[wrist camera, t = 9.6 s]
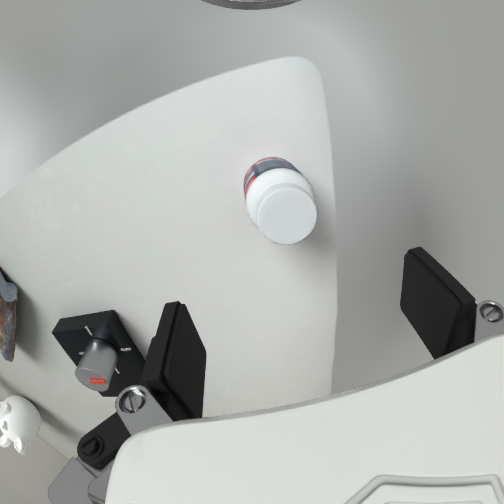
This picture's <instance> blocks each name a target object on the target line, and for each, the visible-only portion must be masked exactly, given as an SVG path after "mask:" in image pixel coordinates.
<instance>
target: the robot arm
mask: <svg viewBox="0 0 504 504" xmlns="http://www.w3.org/2000/svg"><path fill="white" fill-rule="evenodd" d="M400 306H401V310H402V312H403V313H404V314H405V316H406V317H407V319H408V320H409V322H410V323H411V325H412V326H413V328H414V329H415V330H416V332H417V333H418V335H419V336H420V338H421V339H422V341H423V343H424V344H425V346H426V347H427V349H428V350H429V352H430V353H431V355H432V357H433V358H434V360H433V361H430V362H428V363H426V364H423V365H421V366H418V367H416V368H413V369H411V370H408V371H406V372H403V373H400V374H397V375H395V376H392V377H389V378H386V379H383V380H380V381H377V382H374V383H371V384H368V385H364V386H362V387H358V388H354V389H351V390H348V391H344V392H340V393H337V394H333V395H329V396H325V397H321V398H317V399H313V400H309V401H304V402H300V403H295V404H290V405H285V406H280V407H275V408H269V409H263V410H257V411H251V412H244V413H237V414H230V415H222V416H214V417H204V418H202V412H203V396H204V382H205V369H206V350H205V347H204V345H203V343H202V341H201V339H200V337H199V334H198V332H197V330H196V328H195V326H194V323H193V321H192V319H191V317H190V314H189V312H188V310H187V307H186V305H185V304H181V303H180V302H179V301H176V302H171V303H166V304H165V306H164V309H163V312H162V316H161V319H160V322H159V326H158V329H157V333H156V336H154V337H153V338H152V340H151V344H150V347H149V351H148V354H147V358H146V361H145V365H144V368H143V372H142V376H141V380H140V383H139V385H133V386H130V387H128V388H126V389H124V390H123V391H122V392H120V394H119V395H118V397H117V399H116V401H115V408H116V411H117V412H116V413H114V414H113V415H112V416H110V417H109V418H107V419H106V420H105V421H103V422H102V423H101V424H99V425H98V426H97V427H95V428H94V429H93V430H91V431H90V432H88V433H87V434H86V435H84V436H83V437H82V438H81V440H80V441H79V443H78V447H77V453H78V456H77V458H74V457H72V459H71V460H70V461H69V462H68V464H67V465H66V466H65V467H64V469H63V470H62V471H61V472H60V473H59V475H58V476H57V477H56V479H55V480H54V481H53V482H52V483H51V485H50V487H49V489H48V497H49V499H50V501H51V503H52V504H504V308H503V307H502V306H501V305H500V304H499V303H497V302H495V301H490V300H488V301H487V300H486V301H482V302H481V303H479V304H478V305H477V304H476V303H475V298H474V297H473V296H472V295H471V294H470V293H469V292H468V291H467V290H466V289H465V288H464V287H463V286H462V285H461V284H460V283H459V282H458V281H457V280H456V279H455V278H454V277H453V276H452V275H451V274H450V273H449V272H448V271H447V270H446V269H445V268H444V267H443V266H442V265H440V264H439V263H438V262H437V261H436V260H435V259H434V258H433V257H432V256H431V255H429V254H428V253H427V252H426V251H425V250H424V249H423V248H422V247H416V248H413V249H409V250H408V252H407V254H405V257H404V270H403V281H402V292H401V301H400Z"/></svg>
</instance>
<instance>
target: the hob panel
mask: <svg viewBox="0 0 504 504" xmlns="http://www.w3.org/2000/svg"><path fill="white" fill-rule="evenodd" d="M52 334H53V335H54V336H55V338H56V339H57V341H58V342H59V344H60V345H61V346H62V348H63V349H64V350H65V352H66V353H67V354H68V356H69V357H70V358H71V360H72V361H73V362H74V363H75V365H76V366H78V364H79V362H80V360H81V358H82V355H83V353H84V351H85V349H86V347H87V345H88V343H89V341H91V340H93V339H100V340H104V341H106V342H108V343H110V344H111V345H112V346H113V347H114V348H115V349H116V350H117V352H118V354H119V359H118V361H117V364H116V367H115V370H114V373H113V376H112V378H111V381H110V384H109V387H108V389H107V390H106V391H102V392H100V391H98V392H99V393H100V394H101V395H102V396H103V397H118V395H119V394H120V392H122V391H123V390H124V389H126V388H128V387H130V386H133V385H139V383H140V380H141V376H142V372H143V368H144V365H145V359H144V358H143V356H142V355H141V353H140V352H139V350H138V349H137V347H136V346H135V344H134V342H133V341H132V339H131V338H130V336H129V334H128V333H127V331H126V329H125V328H124V326H123V324H122V323H121V321H120V319H119V318H118V316H117V314H116V312H115V311H114V310H110V311H104V312H98V313H93V314H87V315H81V316H75V317H69V318H62V319H60V320H59V322H58V323H57V325H56V326H55V328H54V329H53V331H52Z"/></svg>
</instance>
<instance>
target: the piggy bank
mask: <svg viewBox="0 0 504 504" xmlns="http://www.w3.org/2000/svg"><path fill="white" fill-rule="evenodd" d="M40 426H41V417H40V414H39V412H38V410H37V409H36V407H35V406H34V405H33V404H32V403H31V402H30V401H28V400H27V399H25V398H23V397H21V396H16V395H12V396H9V397H7V398H6V399H5V400H4V402H3V401H2V402H0V429H1V431H2V432H3V434H4V435H2V437H1V438H0V446H2V447H7V446H9V445H10V443H11V441H13V442H14V447H15V449H16V450H17V451H18V452H19V453H20V454H22V455H24V454H25V453H26V446H27V445H29V444H31V443H32V442H33V441H34V439H35V438H36V436H37V435H38V432H39V430H40Z"/></svg>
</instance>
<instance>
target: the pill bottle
mask: <svg viewBox="0 0 504 504" xmlns="http://www.w3.org/2000/svg"><path fill="white" fill-rule="evenodd" d="M244 194H245V204H246V210H247V213H248V216H249V218H250V220H251V222H252V223H253V224H254V225H255V226H256V227H257V228H258V229H259V230H260V231H261V232H262V233H263V235H264V236H265V237H266V238H267V239H269V240H270V241H272V242H274V243H277V244H283V245H289V244H294V243H297V242H299V241H301V240H303V239H304V238H306V237H307V236H308V235H309V234H310V233H311V232H312V230H313V229H314V227H315V224H316V220H317V209H316V206H315V195H314V191H313V188H312V186H311V184H310V183H309V181H308V180H307V179H306V178H305V177H304V176H303V175H302V174H301V173H300V172H299V171H298V170H297V169H296V168H295V167H294V166H293V165H292V164H291V163H289V162H288V161H286V160H284V159H282V158H278V157H266V158H263V159H260V160H258V161H257V162H255V163H254V164H253V165H252V166H251V167H250V168H249V169H248V171H247V172H246V175H245V178H244Z"/></svg>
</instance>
